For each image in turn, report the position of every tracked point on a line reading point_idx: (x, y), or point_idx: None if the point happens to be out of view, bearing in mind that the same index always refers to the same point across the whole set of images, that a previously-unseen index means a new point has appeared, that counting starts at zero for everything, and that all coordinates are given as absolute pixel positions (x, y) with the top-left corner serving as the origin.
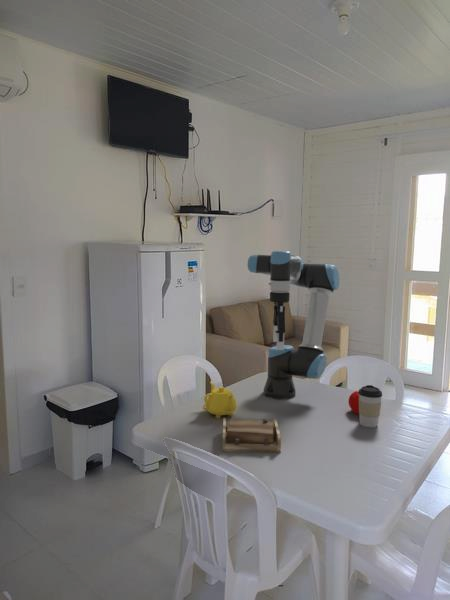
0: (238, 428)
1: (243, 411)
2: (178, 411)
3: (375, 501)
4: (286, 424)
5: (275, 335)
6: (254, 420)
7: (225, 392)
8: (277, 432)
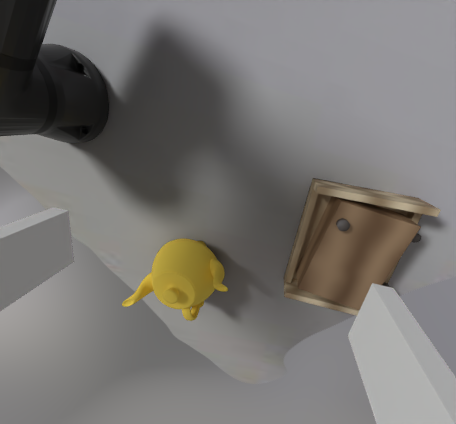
0: (359, 288)
1: (183, 215)
2: (179, 323)
3: None
4: (269, 137)
5: (14, 281)
6: (322, 244)
7: (184, 285)
8: (406, 209)
